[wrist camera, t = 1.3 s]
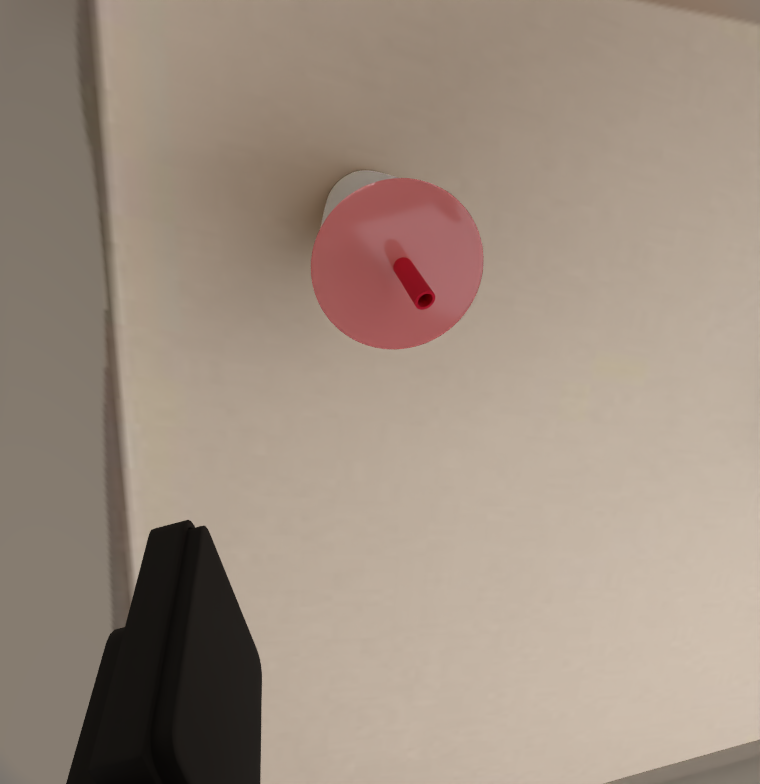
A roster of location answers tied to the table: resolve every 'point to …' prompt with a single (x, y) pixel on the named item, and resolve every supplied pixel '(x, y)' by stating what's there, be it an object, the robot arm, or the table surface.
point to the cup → (395, 260)
